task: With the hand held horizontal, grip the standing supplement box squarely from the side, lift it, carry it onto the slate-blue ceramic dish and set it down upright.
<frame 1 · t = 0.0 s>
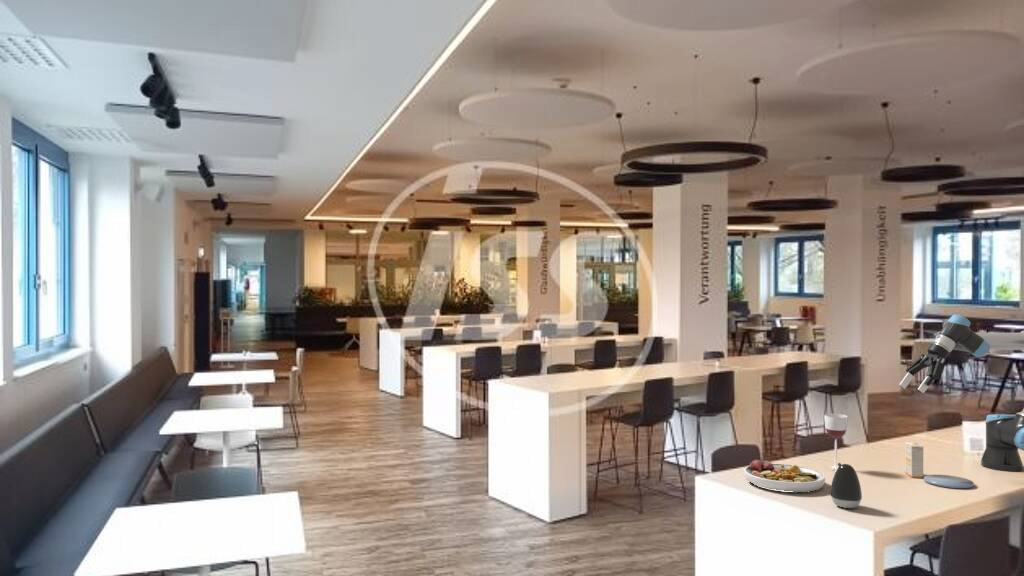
hand: (911, 388, 302), 36 cm above the table, tool tilted 35°, fingers open, 13 cm apart
black egg-shaped piece: (845, 507, 257), on the table
bowl: (783, 485, 287), on the table
supplement box: (914, 476, 301), on the table
wineglass: (835, 469, 312), on the table
dish: (948, 483, 289), on the table
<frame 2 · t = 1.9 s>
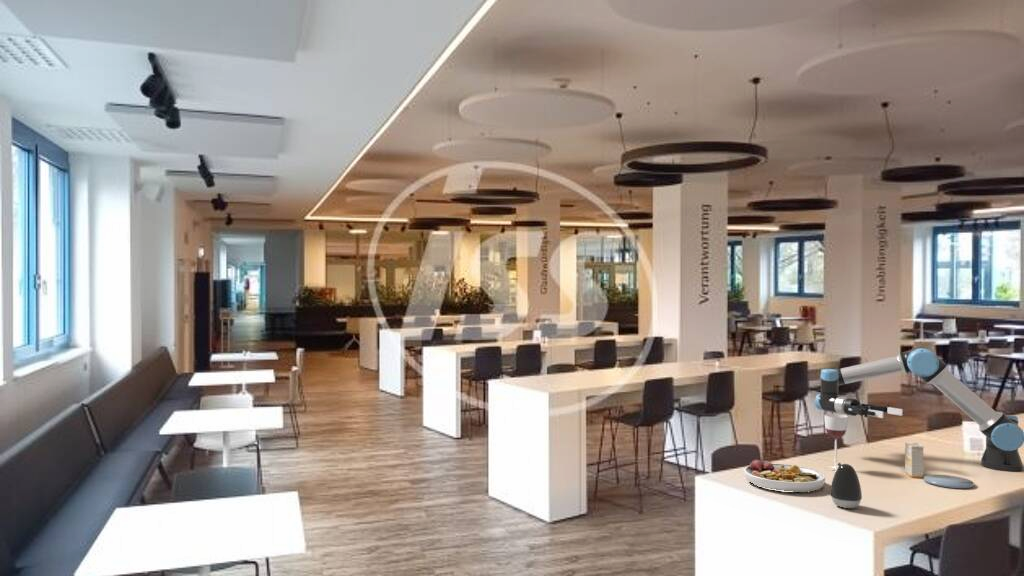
hand: (892, 413, 309), 24 cm above the table, tool horizontal, fingers open, 13 cm apart
nothing on the table moved.
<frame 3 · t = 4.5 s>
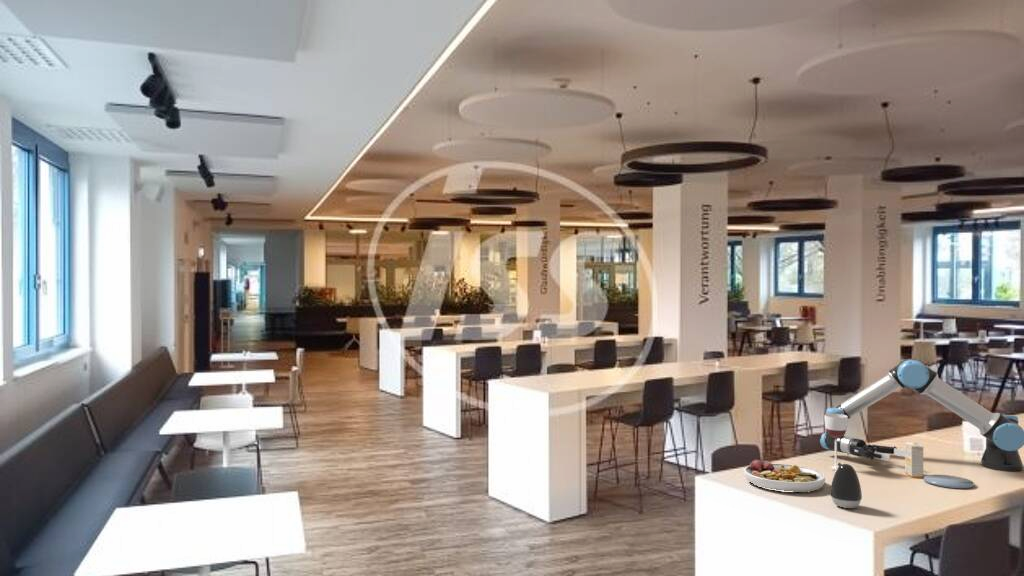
hand: (899, 456, 306), 7 cm above the table, tool horizontal, fingers open, 13 cm apart
nothing on the table moved.
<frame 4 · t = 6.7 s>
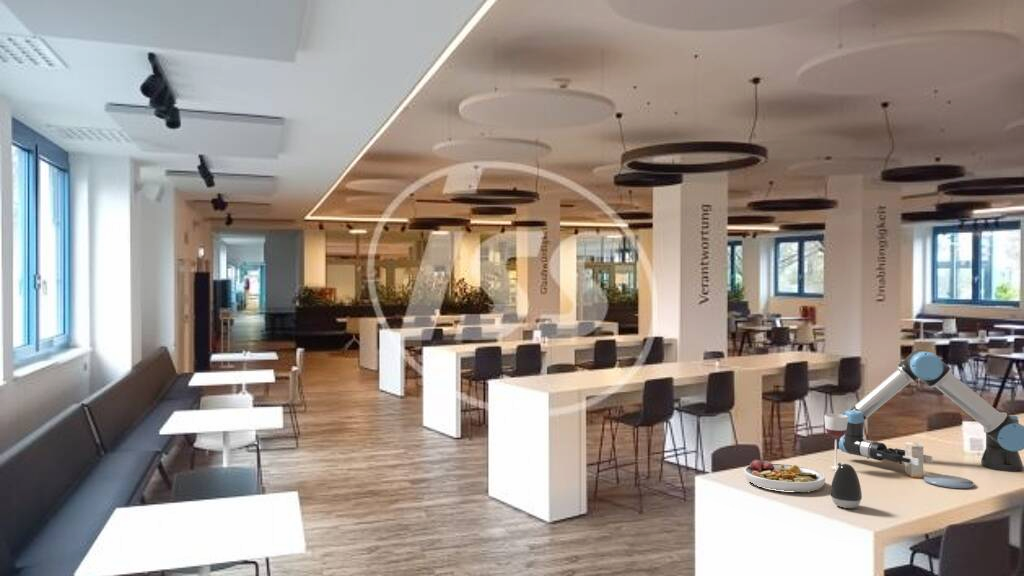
hand: (925, 461, 297), 7 cm above the table, tool horizontal, fingers closed on supplement box, 9 cm apart
supplement box: (914, 476, 301), on the table, touching gripper
everything else where it was.
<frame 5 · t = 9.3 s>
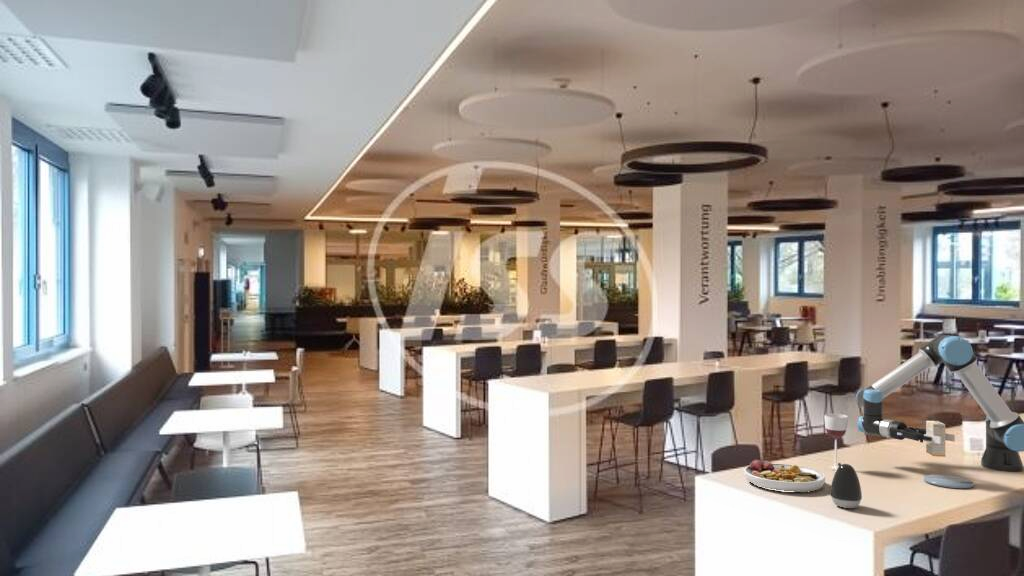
hand: (947, 439, 289), 18 cm above the table, tool horizontal, fingers closed on supplement box, 9 cm apart
supplement box: (935, 455, 293), point 10 cm above the table, touching gripper
everything else where it was.
when the fingers open (10 cm above the table, at t = 12.1 s): supplement box drops 2 cm, resting on dish.
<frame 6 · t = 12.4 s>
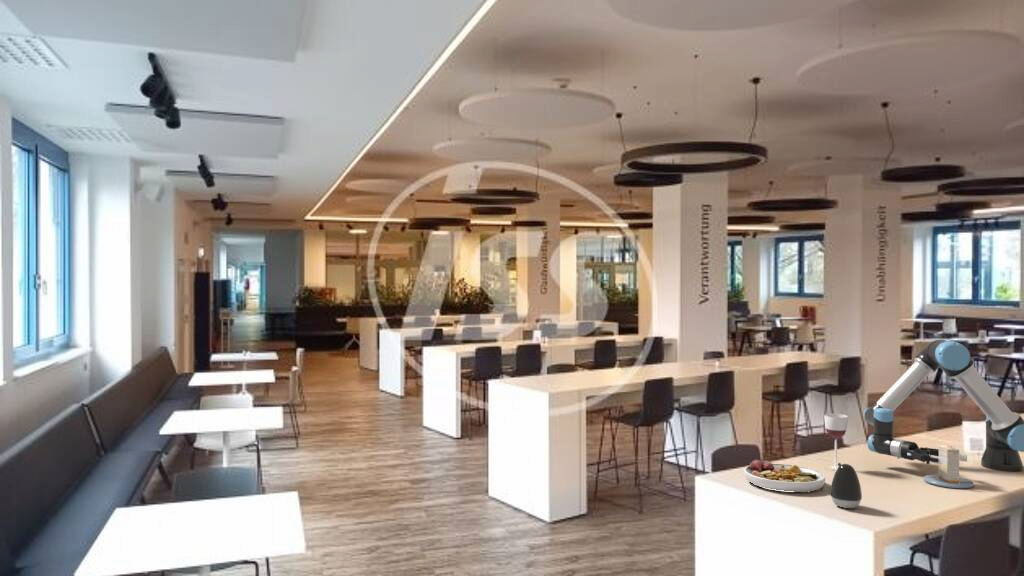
hand: (957, 460, 286), 10 cm above the table, tool horizontal, fingers open, 13 cm apart
supplement box: (948, 480, 289), point 1 cm above the table, touching dish
everything else where it was.
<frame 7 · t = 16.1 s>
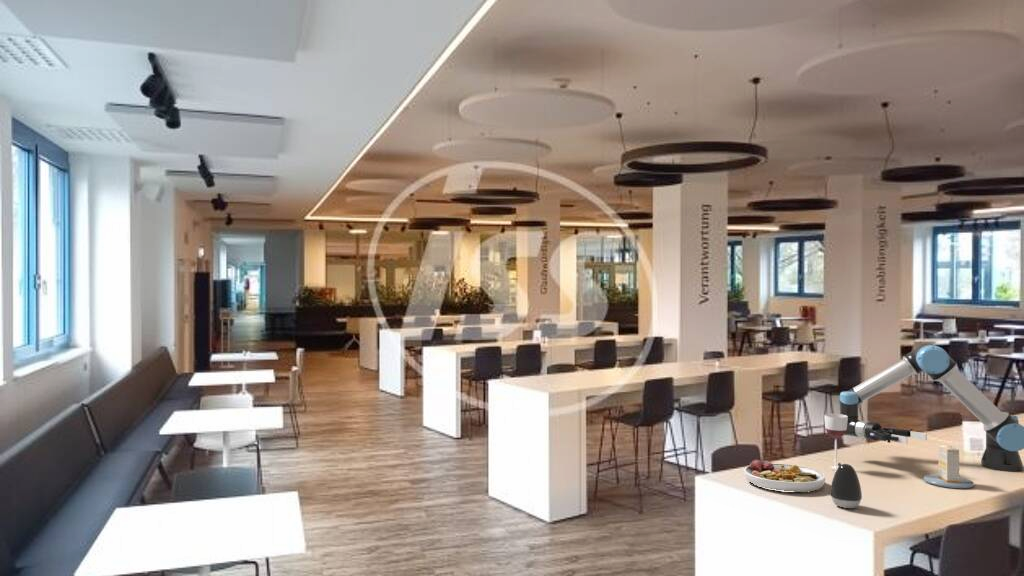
hand: (916, 438, 300), 16 cm above the table, tool horizontal, fingers open, 13 cm apart
nothing on the table moved.
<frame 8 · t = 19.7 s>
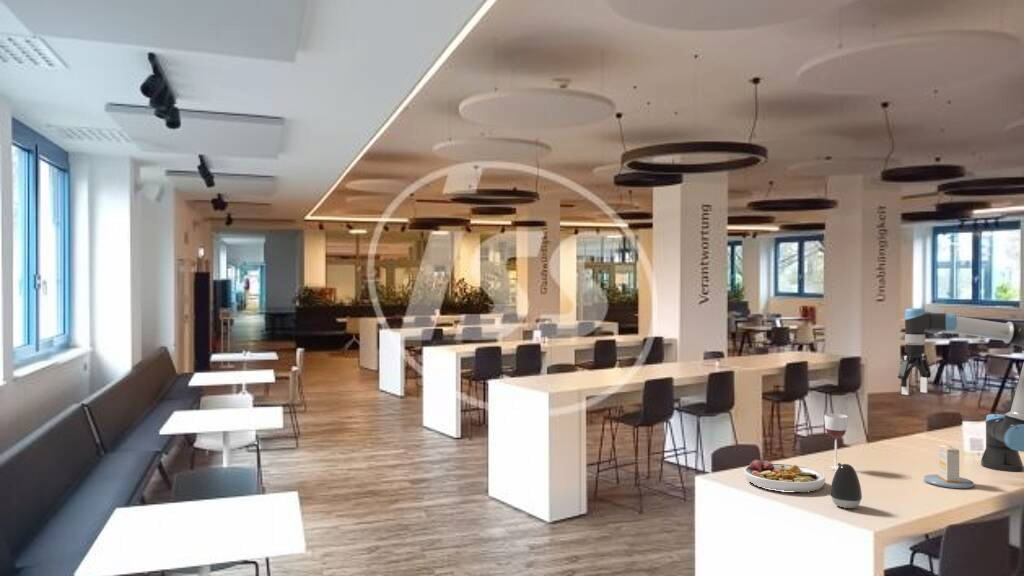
hand: (914, 393, 311), 33 cm above the table, tool pointing down, fingers open, 13 cm apart
nothing on the table moved.
at the end: supplement box inside the target area on the dish (0.2 cm from its centre), point 1.2 cm above the dish's base; supplement box tilted 0°; the gripper is holding nothing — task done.
